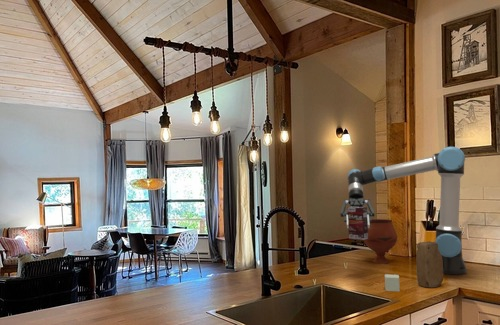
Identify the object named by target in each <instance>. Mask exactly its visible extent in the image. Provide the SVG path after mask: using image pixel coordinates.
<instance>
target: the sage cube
mask: <svg viewBox="0 0 500 325" xmlns="http://www.w3.org/2000/svg"><path fill="white" fill-rule="evenodd" d="M400 285H401V284H400V276H399V274H387V273H385V274H384V286H385V288H384V290H385V292H386V291H387V292H401V291H400Z"/></svg>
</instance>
